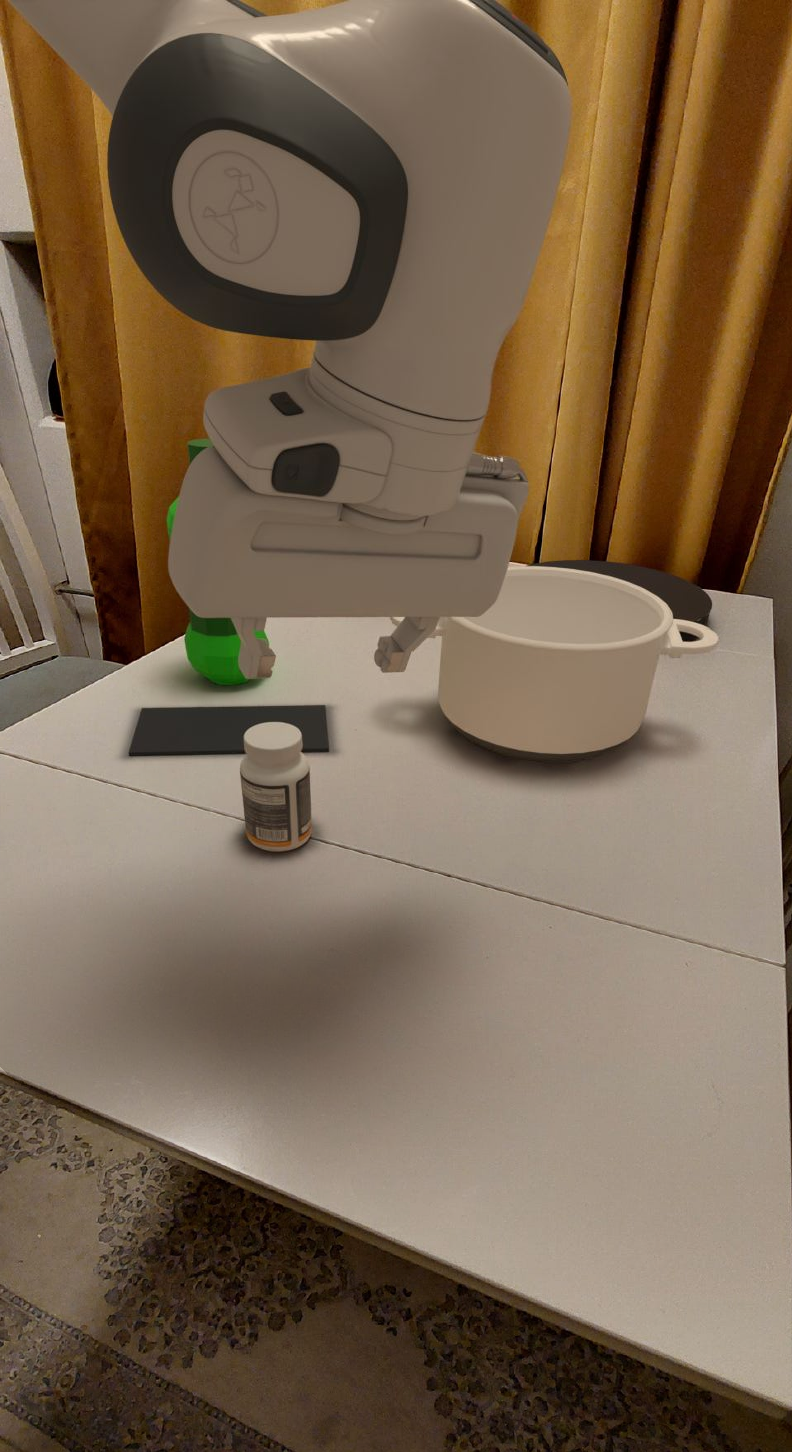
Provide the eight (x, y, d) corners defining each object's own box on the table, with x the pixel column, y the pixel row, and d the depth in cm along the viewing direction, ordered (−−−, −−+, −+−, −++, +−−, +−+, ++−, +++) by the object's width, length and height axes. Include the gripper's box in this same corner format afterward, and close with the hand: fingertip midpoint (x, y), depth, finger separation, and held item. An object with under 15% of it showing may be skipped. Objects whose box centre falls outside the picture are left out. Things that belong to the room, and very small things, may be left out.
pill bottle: (284, 810, 77) (278, 711, 71) (325, 837, 73) (323, 736, 67) (233, 834, 73) (222, 732, 67) (273, 863, 70) (266, 758, 64)
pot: (675, 692, 100) (705, 576, 91) (707, 794, 81) (748, 660, 73) (400, 669, 103) (404, 554, 94) (371, 762, 84) (373, 630, 76)
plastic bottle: (169, 685, 97) (135, 446, 82) (215, 653, 105) (192, 429, 90) (246, 701, 94) (226, 457, 79) (287, 666, 102) (276, 439, 87)
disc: (494, 642, 111) (496, 619, 109) (498, 572, 134) (500, 553, 133) (725, 659, 108) (732, 637, 107) (688, 585, 132) (693, 566, 130)
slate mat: (128, 755, 84) (128, 752, 83) (142, 711, 91) (141, 707, 91) (329, 751, 86) (329, 748, 85) (325, 708, 94) (325, 704, 93)
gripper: (509, 436, 50) (435, 638, 59) (172, 389, 39) (148, 644, 49) (569, 487, 46) (481, 692, 56) (219, 450, 36) (183, 711, 45)
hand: (323, 670), depth 52 cm, fingers open, 8 cm apart
